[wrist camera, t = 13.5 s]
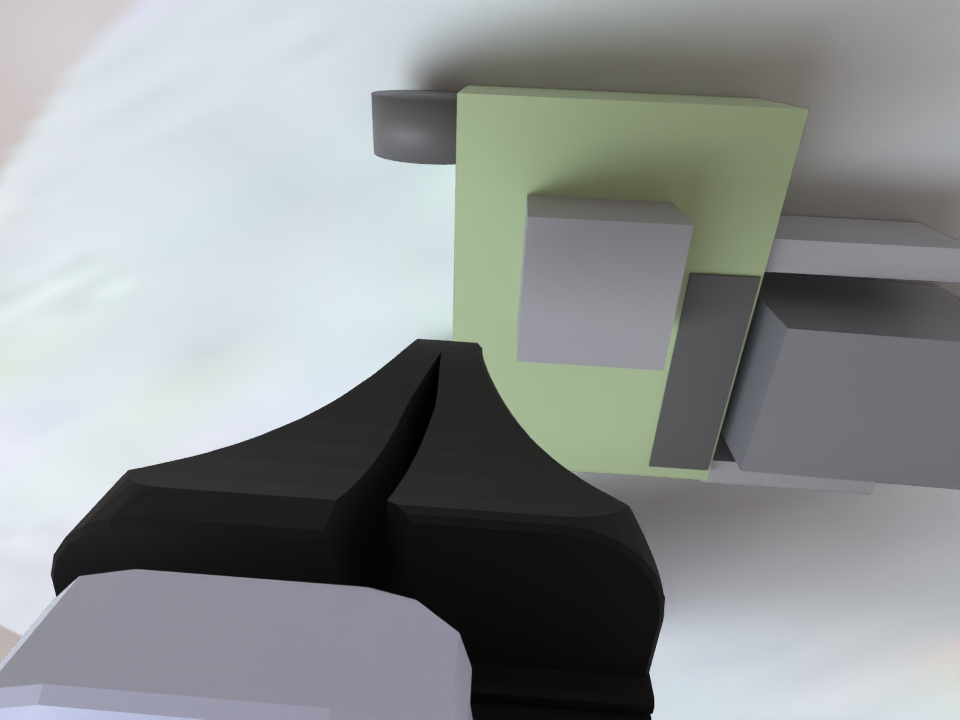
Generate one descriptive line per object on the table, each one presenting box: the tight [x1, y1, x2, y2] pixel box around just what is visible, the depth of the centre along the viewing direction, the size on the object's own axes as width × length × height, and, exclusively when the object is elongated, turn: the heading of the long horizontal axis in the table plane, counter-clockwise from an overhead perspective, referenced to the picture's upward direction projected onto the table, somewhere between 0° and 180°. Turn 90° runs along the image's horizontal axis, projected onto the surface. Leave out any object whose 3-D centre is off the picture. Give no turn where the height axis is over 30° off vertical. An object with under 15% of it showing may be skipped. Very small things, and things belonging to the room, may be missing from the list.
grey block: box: [721, 272, 960, 490], centre depth 20 cm, size 5×7×5 cm
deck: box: [372, 85, 960, 494], centre depth 19 cm, size 12×18×6 cm
